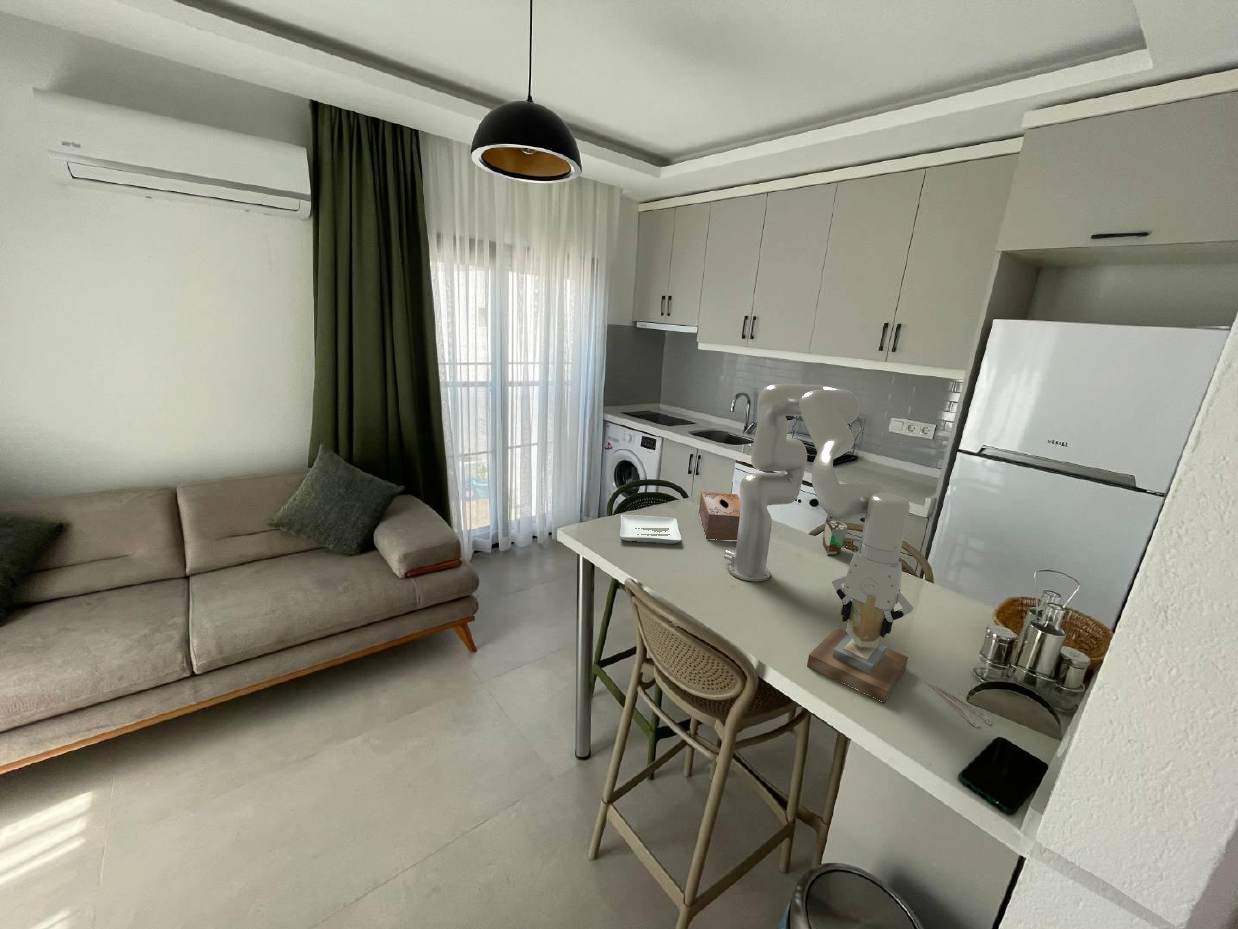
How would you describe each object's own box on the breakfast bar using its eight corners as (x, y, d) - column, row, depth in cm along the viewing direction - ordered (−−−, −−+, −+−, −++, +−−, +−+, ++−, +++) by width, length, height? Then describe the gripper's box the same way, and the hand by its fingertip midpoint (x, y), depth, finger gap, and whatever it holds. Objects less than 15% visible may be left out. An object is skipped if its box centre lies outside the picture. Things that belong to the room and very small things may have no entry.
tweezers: (992, 727, 98) (994, 717, 98) (974, 731, 97) (976, 722, 97) (917, 674, 115) (918, 666, 114) (900, 678, 113) (901, 670, 113)
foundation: (806, 666, 113) (810, 646, 111) (833, 637, 124) (837, 619, 123) (884, 703, 102) (888, 681, 101) (905, 668, 114) (910, 648, 112)
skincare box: (845, 631, 114) (854, 582, 111) (863, 631, 115) (873, 582, 112) (860, 648, 108) (870, 597, 105) (879, 648, 108) (890, 597, 105)
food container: (847, 560, 169) (852, 532, 167) (828, 557, 170) (833, 529, 168) (839, 545, 181) (844, 519, 179) (821, 543, 182) (826, 517, 180)
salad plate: (681, 548, 172) (682, 539, 171) (619, 545, 172) (619, 535, 171) (675, 525, 193) (676, 517, 192) (619, 522, 192) (620, 514, 192)
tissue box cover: (698, 515, 205) (701, 491, 202) (734, 517, 204) (737, 494, 202) (706, 540, 180) (708, 514, 177) (747, 543, 179) (750, 517, 177)
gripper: (830, 543, 109) (818, 617, 113) (921, 572, 98) (903, 652, 102) (843, 535, 114) (831, 605, 119) (930, 560, 103) (913, 637, 108)
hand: (864, 626), depth 110 cm, fingers closed on skincare box, 7 cm apart
